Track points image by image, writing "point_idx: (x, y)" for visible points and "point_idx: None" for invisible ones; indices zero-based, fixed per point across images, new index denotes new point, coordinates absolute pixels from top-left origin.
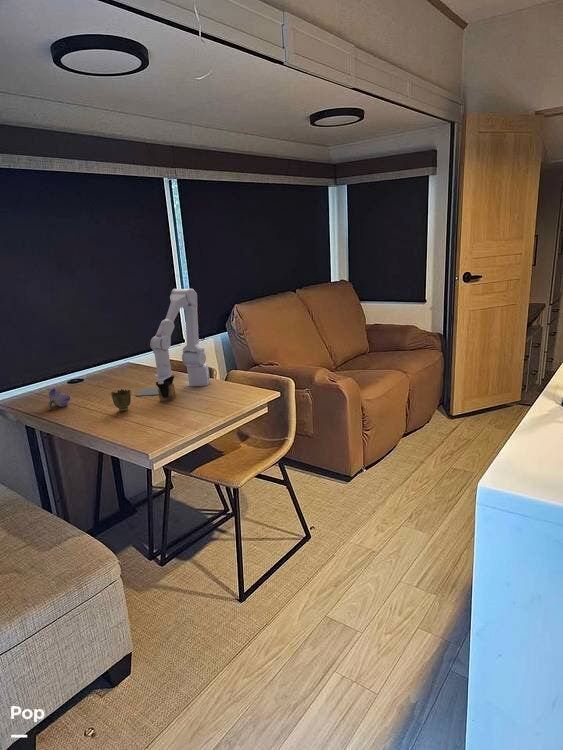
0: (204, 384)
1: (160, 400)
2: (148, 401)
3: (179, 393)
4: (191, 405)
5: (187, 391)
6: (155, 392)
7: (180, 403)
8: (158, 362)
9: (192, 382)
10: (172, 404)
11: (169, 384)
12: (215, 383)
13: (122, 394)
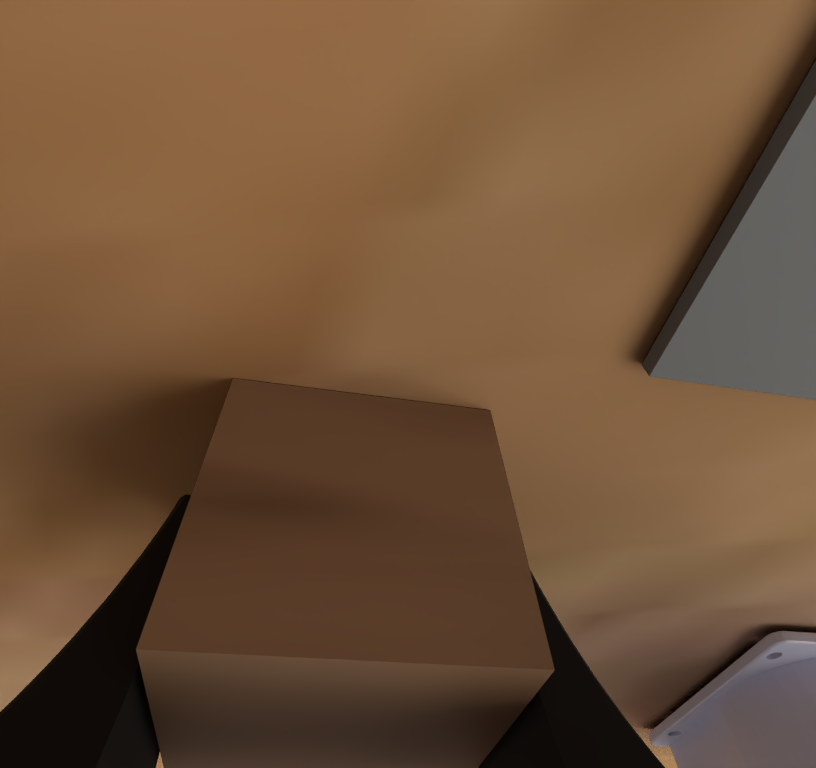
0: (678, 733)
1: (229, 401)
2: (275, 122)
3: (546, 581)
4: (21, 682)
5: (576, 635)
6: None
7: (93, 610)
8: None
9: (768, 716)
10: (46, 546)
11: (478, 760)
12: (672, 756)
13: None
